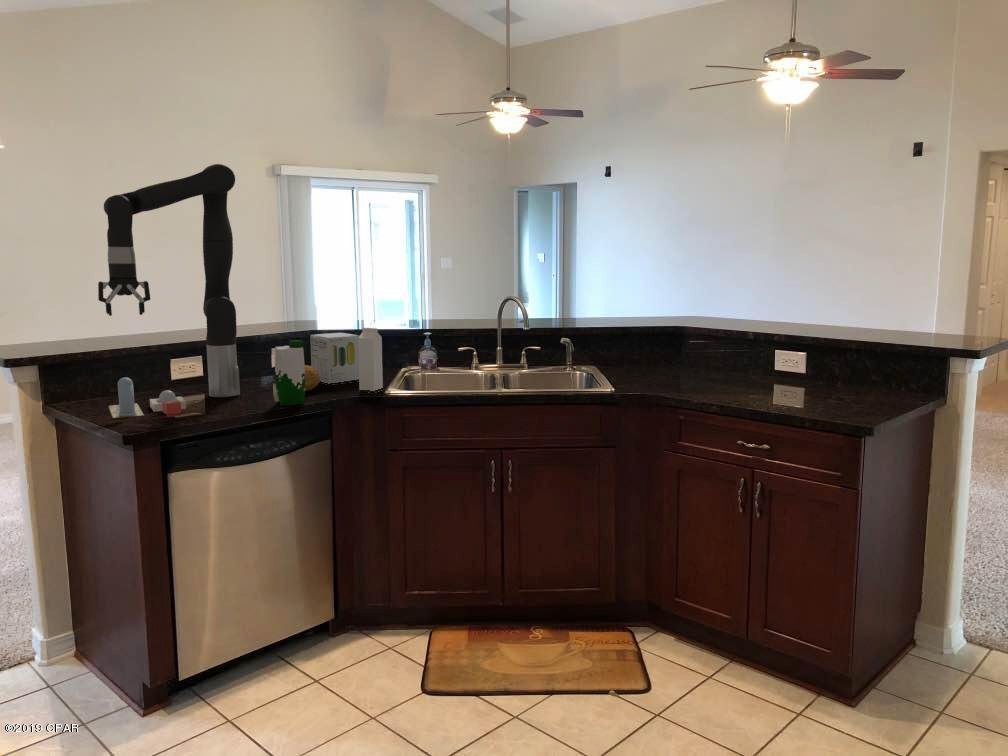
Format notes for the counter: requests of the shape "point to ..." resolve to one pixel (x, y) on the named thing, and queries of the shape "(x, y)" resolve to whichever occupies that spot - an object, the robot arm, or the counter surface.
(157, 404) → the base
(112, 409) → the track
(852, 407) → the counter surface
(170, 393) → the light blue rounded piece
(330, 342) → the supplement box
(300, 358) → the milk carton
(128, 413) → the pawn
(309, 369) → the potato
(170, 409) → the die
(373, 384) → the milk
